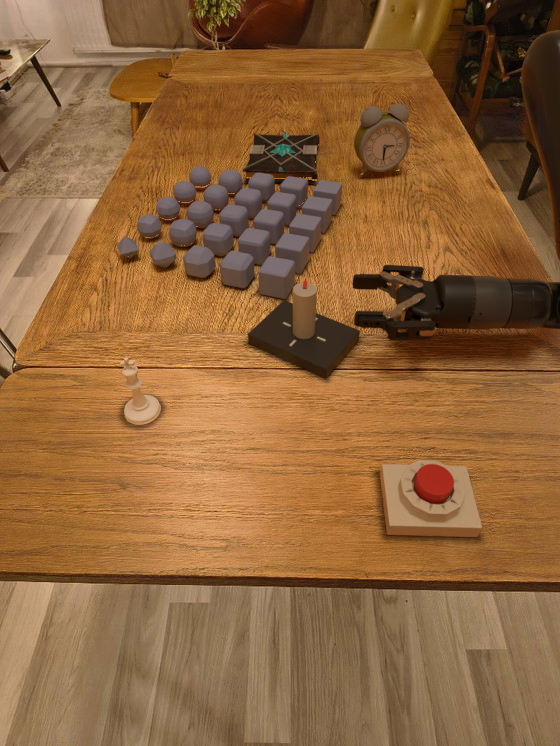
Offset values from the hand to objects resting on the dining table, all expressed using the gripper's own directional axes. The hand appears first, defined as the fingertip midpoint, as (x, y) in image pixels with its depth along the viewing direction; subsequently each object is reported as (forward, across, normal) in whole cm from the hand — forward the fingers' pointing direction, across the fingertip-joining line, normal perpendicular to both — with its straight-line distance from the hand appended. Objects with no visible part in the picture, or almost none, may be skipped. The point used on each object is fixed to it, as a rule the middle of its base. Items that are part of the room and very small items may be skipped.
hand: (353, 299), depth 73 cm
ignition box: (-8, +27, +9) cm, 30 cm away
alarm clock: (-8, -60, +9) cm, 61 cm away
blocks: (+22, -32, +9) cm, 40 cm away
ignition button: (-8, +27, +5) cm, 29 cm away
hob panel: (+7, 0, +9) cm, 11 cm away
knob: (+7, 0, +7) cm, 10 cm away
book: (+14, -64, +9) cm, 66 cm away
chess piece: (+29, +15, +9) cm, 33 cm away
